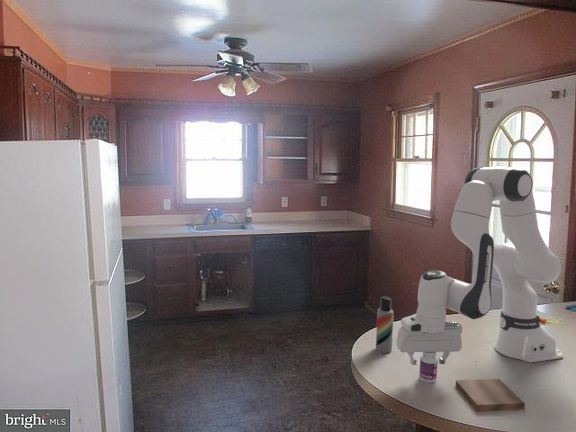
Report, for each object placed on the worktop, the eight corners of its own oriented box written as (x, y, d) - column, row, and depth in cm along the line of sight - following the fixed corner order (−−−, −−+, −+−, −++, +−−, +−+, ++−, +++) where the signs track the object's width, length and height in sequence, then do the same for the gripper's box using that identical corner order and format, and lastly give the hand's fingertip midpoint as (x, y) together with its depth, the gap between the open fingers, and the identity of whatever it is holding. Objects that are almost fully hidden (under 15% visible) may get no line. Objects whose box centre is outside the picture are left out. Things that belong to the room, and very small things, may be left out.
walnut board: (498, 384, 150) (499, 378, 150) (524, 409, 136) (524, 403, 136) (455, 386, 149) (456, 380, 148) (477, 411, 135) (477, 405, 135)
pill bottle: (437, 384, 150) (439, 355, 148) (419, 382, 151) (421, 353, 149) (435, 376, 155) (437, 348, 153) (418, 374, 156) (420, 346, 155)
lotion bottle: (374, 346, 176) (376, 294, 173) (389, 346, 177) (391, 294, 174) (378, 353, 171) (380, 300, 168) (393, 353, 171) (396, 299, 168)
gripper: (458, 318, 154) (454, 358, 156) (396, 319, 152) (393, 359, 154) (467, 325, 148) (463, 367, 150) (402, 326, 146) (400, 369, 148)
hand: (427, 363), depth 152 cm, fingers open, 8 cm apart
